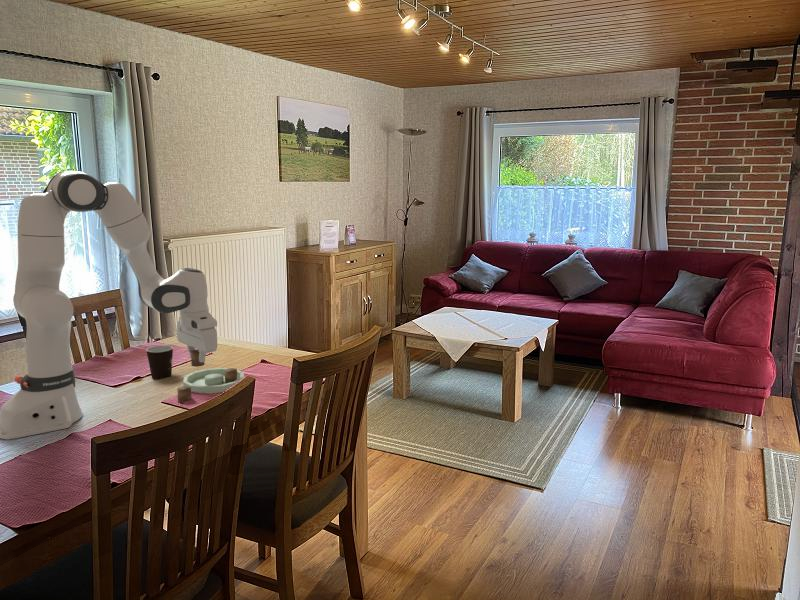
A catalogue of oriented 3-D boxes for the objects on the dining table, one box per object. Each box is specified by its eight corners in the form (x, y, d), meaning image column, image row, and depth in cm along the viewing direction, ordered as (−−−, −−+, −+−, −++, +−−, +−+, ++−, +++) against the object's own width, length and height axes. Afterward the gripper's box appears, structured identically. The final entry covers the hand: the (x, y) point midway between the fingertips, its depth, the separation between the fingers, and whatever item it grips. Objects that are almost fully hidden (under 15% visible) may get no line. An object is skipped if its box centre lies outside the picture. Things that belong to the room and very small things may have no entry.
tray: (202, 400, 195) (201, 391, 194) (172, 385, 209) (172, 376, 208) (256, 385, 209) (255, 376, 208) (225, 372, 222) (225, 363, 222)
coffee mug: (166, 381, 212) (164, 353, 210) (143, 379, 214) (140, 351, 212) (184, 370, 224) (182, 343, 222) (162, 369, 225) (160, 342, 223)
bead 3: (229, 385, 206) (228, 372, 205) (222, 382, 208) (222, 370, 208) (239, 383, 209) (239, 370, 208) (233, 380, 211) (232, 367, 210)
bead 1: (182, 405, 191) (181, 391, 190) (175, 402, 194) (174, 388, 193) (194, 402, 194) (193, 388, 193) (188, 398, 197) (187, 385, 196)
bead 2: (195, 367, 200) (194, 353, 199) (189, 364, 203) (188, 351, 202) (206, 364, 203) (205, 351, 202) (200, 361, 206) (199, 348, 205)
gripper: (170, 314, 205) (173, 355, 208) (201, 325, 191) (204, 369, 194) (188, 311, 209) (191, 351, 212) (219, 322, 195) (222, 364, 198)
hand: (197, 359), depth 203 cm, fingers closed on bead 2, 4 cm apart
